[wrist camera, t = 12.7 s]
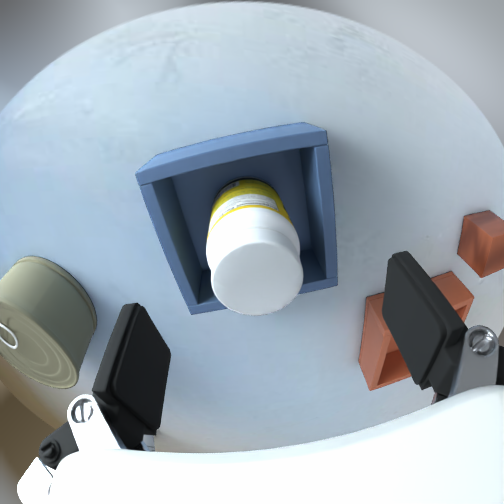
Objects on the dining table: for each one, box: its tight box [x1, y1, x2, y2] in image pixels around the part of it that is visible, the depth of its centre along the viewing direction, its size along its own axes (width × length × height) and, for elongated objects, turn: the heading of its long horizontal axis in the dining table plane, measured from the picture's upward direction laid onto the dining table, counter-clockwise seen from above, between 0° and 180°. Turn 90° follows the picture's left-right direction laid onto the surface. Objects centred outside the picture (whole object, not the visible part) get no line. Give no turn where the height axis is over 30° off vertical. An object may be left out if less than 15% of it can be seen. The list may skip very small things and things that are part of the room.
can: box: [0, 256, 97, 389], centre depth 20 cm, size 12×12×7 cm
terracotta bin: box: [359, 271, 474, 391], centre depth 26 cm, size 11×11×5 cm
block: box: [457, 210, 504, 278], centre depth 20 cm, size 4×4×4 cm
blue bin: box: [135, 122, 338, 315], centre depth 18 cm, size 10×10×5 cm
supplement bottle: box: [206, 177, 303, 316], centre depth 15 cm, size 5×5×8 cm
